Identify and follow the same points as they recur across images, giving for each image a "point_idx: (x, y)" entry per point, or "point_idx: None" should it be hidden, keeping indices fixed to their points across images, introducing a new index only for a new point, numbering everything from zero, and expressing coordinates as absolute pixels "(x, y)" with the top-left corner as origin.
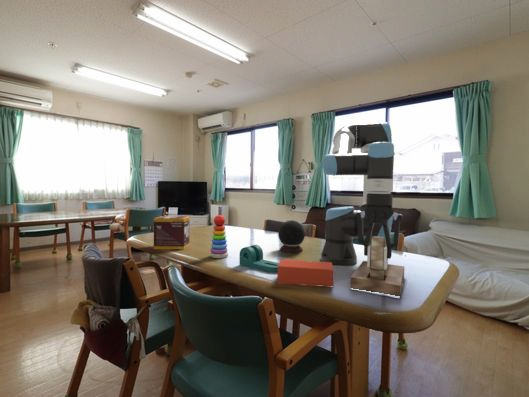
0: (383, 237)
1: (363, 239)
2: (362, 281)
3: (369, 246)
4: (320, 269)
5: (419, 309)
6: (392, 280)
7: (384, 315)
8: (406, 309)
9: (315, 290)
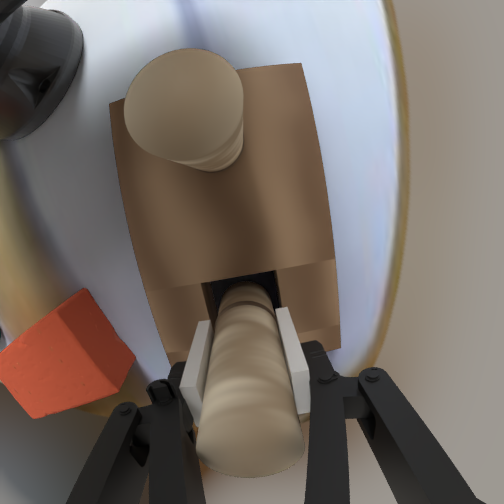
0: (286, 430)
1: (140, 424)
2: None
3: None
4: (92, 401)
5: (374, 350)
6: (309, 316)
7: (309, 420)
8: (348, 370)
9: (124, 397)
